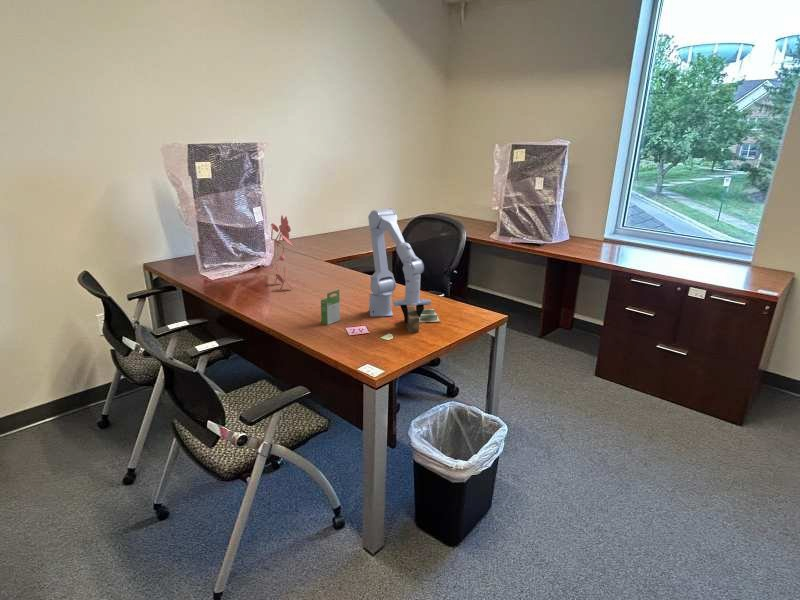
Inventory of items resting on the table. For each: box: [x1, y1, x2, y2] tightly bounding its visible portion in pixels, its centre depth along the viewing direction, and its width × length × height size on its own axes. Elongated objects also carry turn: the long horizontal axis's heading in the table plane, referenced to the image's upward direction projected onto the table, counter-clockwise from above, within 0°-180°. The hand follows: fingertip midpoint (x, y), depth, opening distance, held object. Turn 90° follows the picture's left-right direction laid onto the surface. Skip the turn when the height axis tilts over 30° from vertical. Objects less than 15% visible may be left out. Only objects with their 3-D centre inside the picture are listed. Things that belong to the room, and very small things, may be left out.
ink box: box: [320, 289, 341, 326], centre depth 192 cm, size 7×4×13 cm, turn 141°
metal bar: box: [403, 306, 420, 334], centre depth 191 cm, size 4×13×6 cm, turn 8°
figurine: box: [270, 215, 305, 295], centre depth 230 cm, size 15×26×35 cm, turn 33°
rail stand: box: [419, 308, 441, 324], centre depth 200 cm, size 9×10×3 cm
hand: (411, 322), depth 191 cm, fingers closed on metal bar, 4 cm apart
